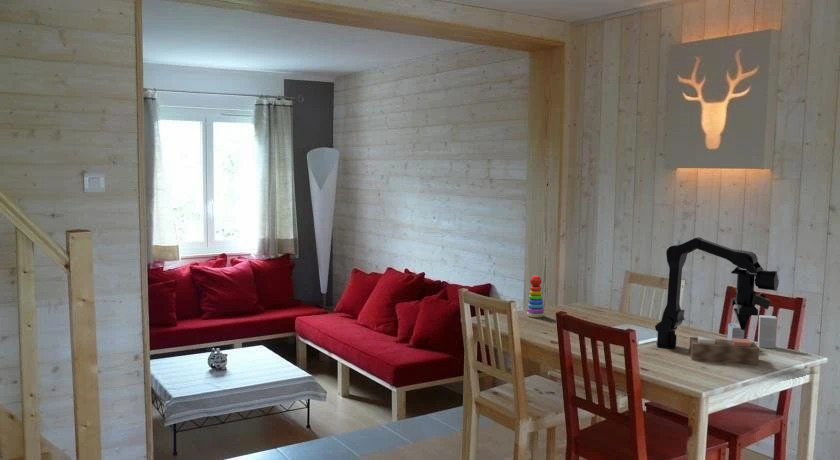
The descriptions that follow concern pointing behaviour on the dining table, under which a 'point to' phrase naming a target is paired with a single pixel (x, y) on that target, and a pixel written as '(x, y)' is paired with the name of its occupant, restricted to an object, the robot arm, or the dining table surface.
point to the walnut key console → (724, 352)
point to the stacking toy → (535, 298)
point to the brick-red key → (741, 342)
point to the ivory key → (705, 339)
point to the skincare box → (767, 331)
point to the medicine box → (735, 331)
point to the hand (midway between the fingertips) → (742, 329)
